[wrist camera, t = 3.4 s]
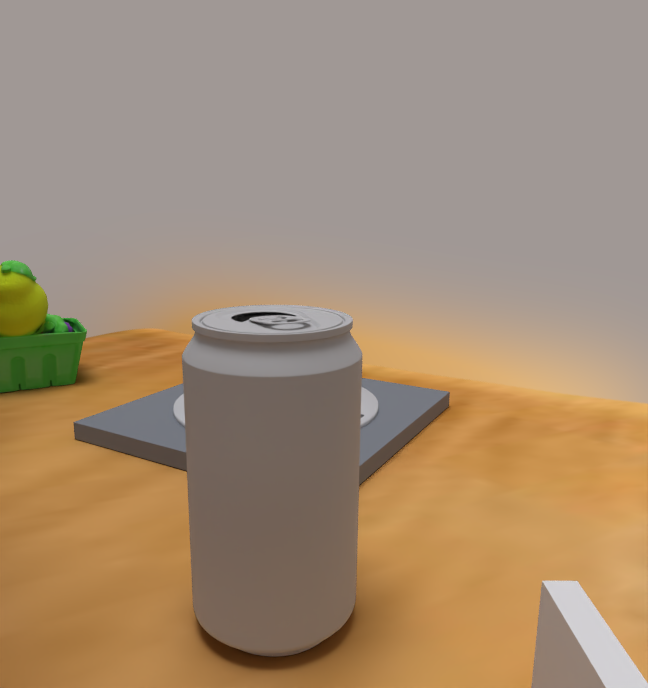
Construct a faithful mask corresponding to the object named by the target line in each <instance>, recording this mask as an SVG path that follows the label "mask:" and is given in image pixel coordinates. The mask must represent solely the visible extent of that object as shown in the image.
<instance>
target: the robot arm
mask: <svg viewBox="0 0 648 688" xmlns="http://www.w3.org/2000/svg"><path fill="white" fill-rule="evenodd" d="M531 688H648V683H647V682H646V680H645V679H644V677H643V676H642V674H641V673H640V671H639V670H638V669H637V667H636V666H635V664H634V663H633V661H632V660H631V658H630V657H629V655H628V654H627V653H626V651H625V650H624V648H623V647H622V645H621V644H620V642H619V641H618V640H617V638H616V637H615V635H614V634H613V632H612V631H611V629H610V628H609V626H608V625H607V624H606V622H605V621H604V619H603V618H602V616H601V615H600V613H599V612H598V611H597V609H596V608H595V606H594V605H593V603H592V602H591V600H590V599H589V597H588V596H587V595H586V593H585V592H584V590H583V589H582V587H581V586H580V584H579V583H578V581H542V587H541V597H540V607H539V617H538V627H537V637H536V647H535V657H534V667H533V677H532V687H531Z"/></svg>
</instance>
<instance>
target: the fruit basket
mask: <svg viewBox="0 0 648 688" xmlns="http://www.w3.org/2000/svg"><path fill="white" fill-rule="evenodd" d="M35 280H36V277H35V276H33V275H32V272H31V270H30V269H29V267H28V266H26V265H25V264H23V263H21V262H18V261H12V260H11V261H6V262H3V263H2V264H1V265H0V393H4V392H12V391H18V390H29V389H37V388H45V387H50V386H61V385H69V384H74V383H75V381H76V376H77V371H78V365H79V360H80V355H81V350H82V345H83V341H85V338H86V333H87V330H86V329H85V328H84V327H83V326H82V325H81V323H80V322H79V321H78V320H77V319H74V318H61V317H60V316H57V315H50V314H47V310H48V302H47V296H46V294H45V292H44V290H43V289H42V288H41V287H40V286H39V285H38V284H37V283H36V282H35Z"/></svg>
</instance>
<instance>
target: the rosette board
mask: <svg viewBox="0 0 648 688" xmlns="http://www.w3.org/2000/svg"><path fill="white" fill-rule="evenodd" d="M449 394H450V392H446V391H440V390H434V389H428V388H421V387H415V386H409V385H402V384H396V383H390V382H384V381H377V380H371V379H365V378H362V386H361V424H360V462H359V485H360V484H361V483H362V482H364V481H365V480H366V479H367V478H368V477H369V476H370V475H371V474H373V473H374V472H375V471H376V470H377V469H378V468H379V467H381V466H382V465H383V464H384V463H385V462H386V461H387V460H388V459H390V458H391V457H392V456H393V455H394V454H395V453H396V452H398V451H399V450H400V449H401V448H402V447H403V446H404V445H405V444H407V443H408V442H409V441H410V440H411V439H412V438H413V437H414V436H416V435H417V434H418V433H419V432H420V431H421V430H422V429H424V428H425V427H426V426H427V425H428V424H429V423H430V422H431V421H433V420H434V419H435V418H436V417H437V416H438V415H439V414H441V413H442V412H443V411H444V410H445V409H446V408H447V407H448V406H449ZM74 432H75V439H78V440H81V441H84V442H88V443H91V444H95V445H98V446H102V447H105V448H109V449H112V450H116V451H119V452H123V453H126V454H130V455H133V456H137V457H140V458H144V459H147V460H151V461H154V462H158V463H161V464H165V465H168V466H172V467H175V468H179V469H182V470H186V471H187V457H186V434H185V412H184V389H183V384H180V385H177V386H174V387H171V388H169V389H166V390H163V391H160V392H157V393H155V394H152V395H149V396H146V397H143V398H141V399H138V400H135V401H132V402H129V403H126V404H124V405H121V406H118V407H115V408H112V409H110V410H107V411H104V412H101V413H98V414H96V415H93V416H90V417H87V418H84V419H81V420H79V421H76V422H74Z"/></svg>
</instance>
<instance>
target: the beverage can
mask: <svg viewBox="0 0 648 688" xmlns="http://www.w3.org/2000/svg"><path fill="white" fill-rule="evenodd" d="M352 323H353V319H352V317H351V316H350V315H348V314H346V313H343V312H340V311H336V310H331V309H326V308H319V307H310V306H296V305H252V306H238V307H229V308H222V309H216V310H211V311H207V312H203V313H201V314H198V315H196V316H195V317H193V318H192V328H193V330H194V331H195V334H194V336H193V338H192V339H191V341H190V342H189V344H188V345H187V347H186V349H185V350H184V352H183V355H182V366H183V389H184V412H185V434H186V457H187V480H188V503H189V525H190V548H191V571H192V594H193V607H194V612H195V615H196V617H197V619H198V621H199V623H200V625H201V626H202V627H203V628H204V629H205V630H206V632H208V633H209V634H210V635H211V636H212V637H214V638H215V639H217V640H218V641H220V642H222V643H224V644H226V645H228V646H231V647H234V648H237V649H239V650H242V651H244V652H247V653H251V654H255V655H260V656H287V655H293V654H297V653H300V652H303V651H306V650H308V649H311V648H312V647H314V646H316V645H318V644H319V643H321V642H322V641H323V640H325V639H327V638H329V637H330V636H331V635H333V634H334V633H335V632H337V631H338V630H339V629H340V628H341V627H342V626H343V625H344V624H345V623H346V621H347V620H348V618H349V617H350V615H351V613H352V611H353V608H354V605H355V600H356V576H357V538H358V500H359V462H360V424H361V386H362V352H361V350H360V348H359V346H358V344H357V343H356V341H355V340H354V338H353V337H352V336H351V334H350V330H351V329H352Z"/></svg>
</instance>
